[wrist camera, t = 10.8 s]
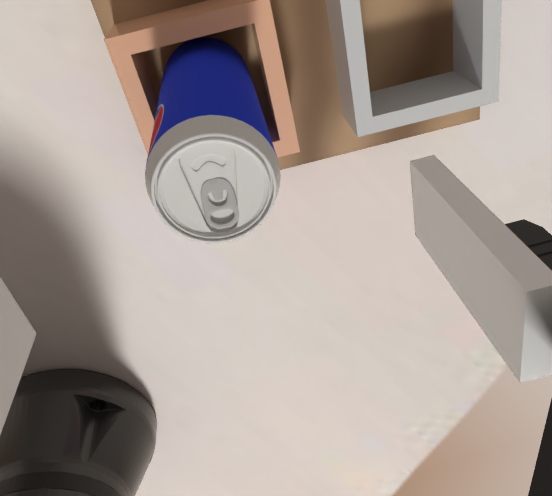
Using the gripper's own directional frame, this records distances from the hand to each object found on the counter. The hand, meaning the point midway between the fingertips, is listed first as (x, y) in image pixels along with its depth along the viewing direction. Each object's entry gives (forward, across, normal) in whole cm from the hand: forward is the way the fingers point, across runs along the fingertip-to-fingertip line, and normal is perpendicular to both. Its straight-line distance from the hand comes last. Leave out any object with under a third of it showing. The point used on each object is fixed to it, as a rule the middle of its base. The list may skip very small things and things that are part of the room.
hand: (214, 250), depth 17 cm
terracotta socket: (+18, 0, 0) cm, 19 cm away
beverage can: (+19, 0, 0) cm, 19 cm away
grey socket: (+18, +12, 0) cm, 22 cm away
